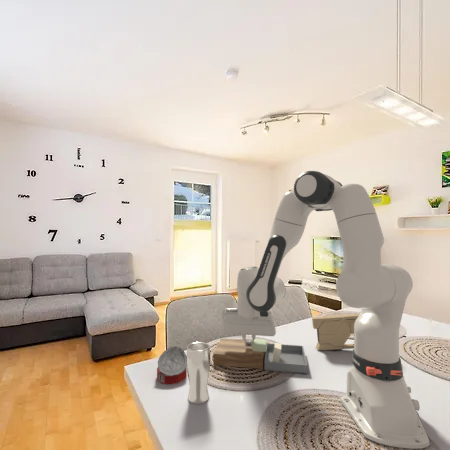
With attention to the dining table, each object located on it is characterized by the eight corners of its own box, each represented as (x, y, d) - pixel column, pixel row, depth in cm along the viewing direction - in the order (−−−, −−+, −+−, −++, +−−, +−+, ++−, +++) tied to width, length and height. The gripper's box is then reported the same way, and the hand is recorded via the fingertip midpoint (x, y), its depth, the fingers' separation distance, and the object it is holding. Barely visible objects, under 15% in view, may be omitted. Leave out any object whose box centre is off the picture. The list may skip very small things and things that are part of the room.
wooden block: (263, 369, 98) (263, 357, 98) (213, 364, 101) (213, 353, 101) (264, 351, 112) (264, 341, 112) (220, 348, 115) (220, 338, 115)
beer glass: (188, 407, 77) (188, 352, 77) (185, 392, 84) (185, 343, 84) (212, 402, 79) (212, 349, 79) (207, 389, 86) (207, 340, 86)
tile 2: (272, 361, 102) (278, 362, 101) (274, 347, 102) (281, 349, 101) (272, 355, 107) (279, 356, 106) (274, 342, 107) (281, 344, 106)
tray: (307, 374, 94) (307, 365, 94) (264, 370, 97) (264, 361, 97) (302, 353, 110) (302, 345, 110) (266, 350, 113) (265, 343, 113)
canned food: (186, 385, 96) (199, 362, 95) (167, 398, 87) (181, 372, 86) (164, 363, 101) (176, 340, 100) (144, 373, 92) (157, 348, 91)
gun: (376, 349, 113) (372, 312, 114) (380, 353, 110) (376, 315, 110) (315, 352, 116) (311, 316, 116) (317, 356, 112) (313, 318, 113)
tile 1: (266, 352, 102) (266, 345, 102) (252, 351, 103) (252, 344, 103) (266, 346, 107) (266, 339, 107) (253, 345, 108) (253, 339, 108)
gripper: (220, 310, 105) (220, 347, 104) (275, 312, 101) (275, 351, 101) (223, 305, 111) (223, 340, 111) (275, 308, 107) (275, 344, 107)
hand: (249, 345), depth 106 cm, fingers closed
